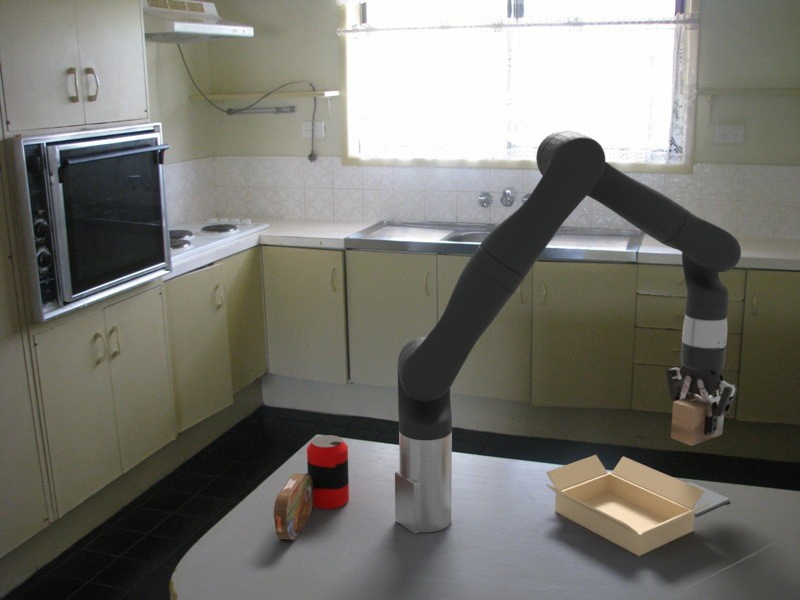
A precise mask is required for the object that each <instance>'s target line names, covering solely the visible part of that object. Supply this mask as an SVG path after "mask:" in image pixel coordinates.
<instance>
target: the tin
mask: <svg viewBox="0 0 800 600" xmlns="http://www.w3.org/2000/svg"><path fill="white" fill-rule="evenodd" d="M313 507H314V506H313V484H312V479H311V476H310V475H309V474H308V472H307V473H293V474H292V475H291V476H290V477H289V479H288V480H287V482H285V484H284V486H283V487H282V488H281V490H280V491H279V493H278V494H277V496H276V499H275V502H274V506H273V518H274V519H273V520H274V528H275V535H276V536H277V538H278V539H281V540H292V541H294V540H296V539H297V538H298V536H299V534H301V531H302V530H303V528H304V526H305V525H306V523H307V522H308V520H309V518H310V517H311V513H312V511H313Z"/></svg>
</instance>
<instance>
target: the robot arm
mask: <svg viewBox="0 0 800 600" xmlns="http://www.w3.org/2000/svg"><path fill="white" fill-rule="evenodd" d="M605 154H606V153H605V151H604V149H603V146H602V145H601V144H600V142H598V141H597V140H595V139H593V138H592V137H589V136H587V135H585V134H582V133H579V132H575V131H572V130H559V131H554V132H552V133H550V134H549V135H547V136H546V137H545V138H543V140H542V141H541V142H540V144H539V145H538V148H537V151H536V156H535V157H536V158H535V161H536V166H537V169H538V171H539V173H540V175H541V178H540V179H539V181H538V183H537V184H536V186H535V188H534V189H533V191H532V192H531V193H530V194H529V197H528V198H527V199H526V200H525V201H524V202H523V204H522V205H520V207H519V208H518V209H516V210H515V211H514V212H513V213H512V214H510V215H509V216H508V217H507V218H505V219H504V220H503V221H502V222H501V223H499V224H498V225H497V226H496V227H494V228H493V229H492V230H491V231H490V232H489V233H488V234H487V235H486V237H484V239H483V240H482V241H481V242H480V244H479V246H478V247H477V248H476V250H475V251H474V253H473V254H472V256H471V257H470V258H469V259H468V261H467V263H466V264H465V266H464V268H463V269H462V271H461V273H460V275H459V277H458V279H457V281H456V283H455V285H454V288H453V290H452V293H451V294H450V298H449V300H448V302H447V304H446V307H445V309H444V311H443V313H442V315H440V318H439V320H438V321H437V323H436V324H435V326H433V328H432V329H431V331H429V333H428V335H427V336H422V337H421V336H419V337H416V338H414V339H411V340H410V341H409V342H407V343H405V345H404V346H403V347H402V349H401V350H400V353H399V355H398V358H397V409H398V410H397V411H398V435H399V436H398V437H399V439H398V440H399V441H398V442H399V443H398V446H399V449H398V450H399V451H398V452H399V453H398V455H399V457H398V458H399V459H398V460H399V463H398V464H399V467H398V468H399V470H397V471H395V472H394V515H395V516H394V519H395V522H397V523H398V524H399V525H401V526H402V527H404V528H405V529H406V530H408V531H409V532H411V533H413V534H414V535H417V534H420V533H434V532H439V531H442V530H444V529H446V528H447V527H449V526H450V525H451V523H452V484H453V483H452V472H453V470H452V465H453V464H452V462H453V461H452V460H453V459H452V457H453V456H452V453H453V451H452V450H453V449H452V448H453V438H452V437H453V416H452V403H451V402H452V401H451V387H452V385H453V384H454V382H455V380H456V378H457V376H458V375H459V373H460V371H461V369H462V368H463V366H464V364H465V362H466V361H467V359H468V357H469V355H470V353H471V351H472V350H473V348H474V347H475V345H476V343H477V342H478V340H480V338H481V336H482V335H483V334H484V333H485V332H486V331H487V329H488V328H489V326H490V325H491V324H492V323H493V321H494V320H495V318H497V316H498V315H499V314H500V312H501V311H502V310H503V308H504V307H505V305H506V304H507V303H508V302H509V300H510V299H511V298H512V296H513V295H514V294H515V292H516V291H517V290H518V288H519V287H520V285H521V284H522V282H523V281H524V279H525V278H526V277H527V275H528V274H529V272H530V271H531V269H532V267H533V266H534V265H535V263H536V262H537V260H538V259H539V258H540V256H541V255H542V253H543V252H544V251H545V249H546V248H547V247H548V245H549V243H550V242H551V240H552V239H553V238H554V236H555V234H557V232H558V230H559V229H560V228H561V226H562V225H563V224H564V222H565V221H566V220H567V219H568V217H569V216H570V215H571V214H572V213H573V212H574V211H575V210H576V209H577V207H578V206H579V205H580V203H582V202H583V201H584V199H585V198H586V197H588V198H591V199H593V200H594V201H596V202H597V203H600V204H601V205H603V206H604V207H605V208H608V209H609V210H611V211H612V212H614V213H615V214H617V215H618V216H619V217H621V218H623V219H624V220H625V221H626V222H628V223H630V225H633V227H635V228H636V229H639V230H640V231H641V232H642V233H644V234H646V235H647V236H649V237H651V238H652V239H654V240H655V241H657V242H659V243H660V244H663V245H664V246H667V247H669V248H671V249H675V250H677V251H680V252H681V259H682V260H681V263H682V269H683V276H684V282H685V287H686V299H685V301H686V302H685V312H684V313H685V314H684V320H683V324H682V334H681V348H680V364H681V366H680V367H679V366H676V367H672V368H669V369H666V371H665V374H666V378H667V379H666V380H667V385H668V391H669V396H670V397H669V398H670V400H671V401H672V402H674V401H677V400H680V399H683V398H688V397H691V396H695V395H696V394H698V395H699V396H701V399H702V403H703V404H704V405H706V409H705V410H706V414H707V415H706V416H705V426H704V434H705V435H707V436H709V435H712V434H713V433H714V432H716V430H717V421H718V417H719V416H722V415H724V416H725V415H727V414H729V413H730V411H731V408H732V406H733V403H734V400H735V397H736V395H737V394H738V393H737V392H738V390H739V387H738V385H736V384H730V383H728V382H727V381H725V377H724V373H723V370H724V368H725V365H726V364H725V363H726V355H727V354H726V351H727V341H728V310H729V299H730V298H729V296H730V295H729V290H728V287H727V286H726V285H725V283H723V282H722V281H721V279H720V273H725V272H727V271H731V270H732V269H734V268H735V267H736V266H737V264H738V263H739V262H740V259H741V256H742V250H741V245H740V243H739V241H738V240H737V238H736V237H735V236H734V235H733V234H731V233H730V232H728V231H726V230H725V229H723V228H721V227H720V226H718V225H716V224H713V223H711V222H710V221H707V220H706V219H703V218H701V217H699V216H697V215H695V214H694V213H692V212H691V211H690V210H688V209H687V208H685V207H684V206H682V205H681V204H679V203H677V202H676V201H674V200H673V199H672V198H670V197H668V196H666V195H665V194H663V193H661V192H660V191H658V190H656V189H654V188H652V187H650V186H648V185H646V184H644V183H642V182H640V181H638V180H637V179H634V178H633V177H630V176H629V175H627V174H625V173H623V172H621V170H618V169H617V168H616V167H615V166H613V165H611V164H609V162H607V161H606V155H605ZM719 389H720V392H719ZM710 395H711V397H710V398H709V396H710ZM719 397H720V398H719ZM719 399H720V400H719ZM712 403H713V404H712Z"/></svg>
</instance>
